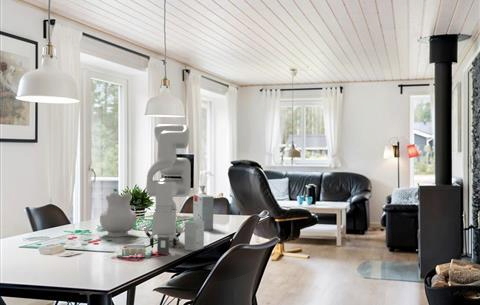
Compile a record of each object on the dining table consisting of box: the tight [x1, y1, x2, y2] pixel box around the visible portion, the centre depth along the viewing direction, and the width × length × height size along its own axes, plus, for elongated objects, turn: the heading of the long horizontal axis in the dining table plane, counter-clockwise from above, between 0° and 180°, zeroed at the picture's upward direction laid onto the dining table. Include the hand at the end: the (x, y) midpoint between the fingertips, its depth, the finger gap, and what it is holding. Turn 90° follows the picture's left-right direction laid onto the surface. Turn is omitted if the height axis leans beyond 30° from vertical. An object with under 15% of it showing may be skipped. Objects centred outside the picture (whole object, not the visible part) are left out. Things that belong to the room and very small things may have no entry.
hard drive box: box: [192, 193, 214, 231], centre depth 308 cm, size 16×8×20 cm, turn 25°
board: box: [116, 244, 153, 259], centre depth 225 cm, size 14×14×4 cm
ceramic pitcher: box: [99, 188, 138, 238], centre depth 277 cm, size 22×20×25 cm
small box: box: [184, 219, 205, 252], centre depth 242 cm, size 8×6×13 cm
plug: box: [156, 237, 170, 255], centre depth 230 cm, size 5×5×7 cm
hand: (163, 247), depth 230 cm, fingers open, 9 cm apart
